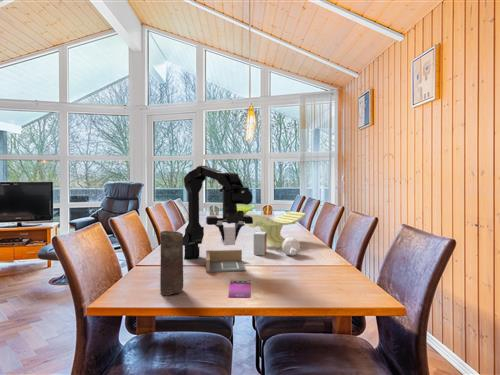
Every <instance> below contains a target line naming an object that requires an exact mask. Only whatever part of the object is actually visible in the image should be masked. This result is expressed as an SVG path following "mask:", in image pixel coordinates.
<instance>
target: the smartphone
mask: <svg viewBox="0 0 500 375" xmlns="http://www.w3.org/2000/svg"><path fill="white" fill-rule="evenodd" d="M229 282H230V283H229V288H228V295H227V296H228V297H227V298H230V299H231V298H233V299H236V298H238V299H239V298H240V299H241V298H242V299H244V298H245V299H250V298H252V297H251V296H252V292H251V290H252V289H251V286H252V285H251V280H249V279H231V280H230V281H229Z"/></svg>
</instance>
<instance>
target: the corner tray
mask: <svg viewBox="0 0 500 375" xmlns="http://www.w3.org/2000/svg"><path fill="white" fill-rule="evenodd" d="M242 257H243V251H242V249H215V250H214V249H212V250H209V249H208V250H206V251H205V273H207V274H208V273H229V272H230V273H231V272H246V271H247V270H246V267H245V264H244V263H243V260H242V259H243V258H242Z"/></svg>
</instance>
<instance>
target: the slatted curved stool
mask: <svg viewBox="0 0 500 375" xmlns="http://www.w3.org/2000/svg"><path fill="white" fill-rule="evenodd" d="M249 216H251V217H252V218H253V224H248V227H249V228H253V229H254V228H256V227H260V228H259V229H260V232H267V245H268V246H270V247H273V246H274V247H275V248H277V249H279V248H282V244H283V241H284V240H285V239H286V238H284V237H283V236H282V235H281V230H282V228H283V226H288V225H296V223H299V222H300V221H303V219H306V218H307V212H299V211H291V210H290V211H287V212H285V214H282V215H280V216H279V217H276V218H273V219H272V218H270V217H269V216H265V215H260V214H253V213H252V214H250V215H249Z"/></svg>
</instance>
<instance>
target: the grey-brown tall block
mask: <svg viewBox="0 0 500 375" xmlns="http://www.w3.org/2000/svg"><path fill="white" fill-rule="evenodd" d="M183 236H184V233H181V232H180V231H174V230H173V231H172V230H171V231H170V230H162V231H160V274H159V276H160V277H159V278H160V279H159V280H160V281H159V282H160V283H159V284H160V286H159V287H160V294H161V295H162V296H171V295H172V294H173V295H174V294H178V293H180V292H181V291H182V290H183V289H184V246H183Z"/></svg>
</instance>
